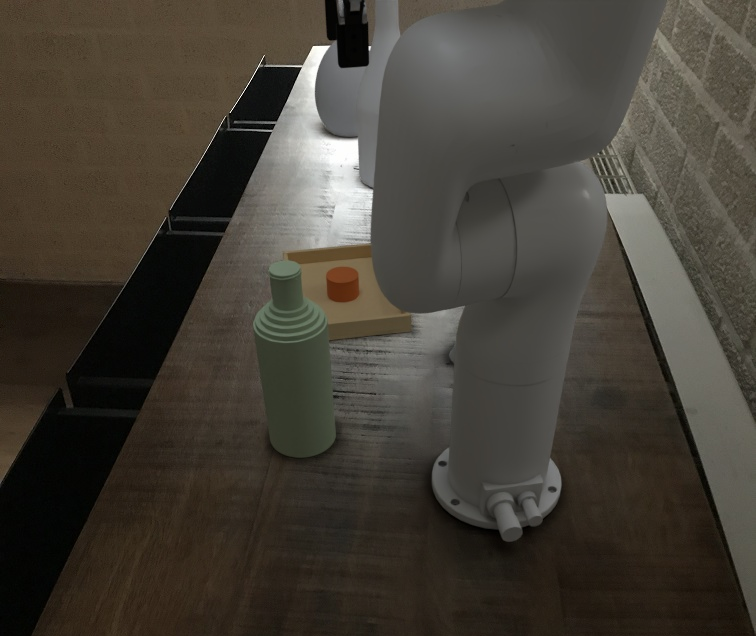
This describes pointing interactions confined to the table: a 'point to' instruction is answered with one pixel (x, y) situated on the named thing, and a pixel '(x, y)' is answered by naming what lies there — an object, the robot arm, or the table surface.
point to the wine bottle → (375, 85)
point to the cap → (342, 284)
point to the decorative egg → (337, 94)
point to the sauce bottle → (295, 366)
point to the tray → (359, 314)
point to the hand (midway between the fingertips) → (347, 52)
